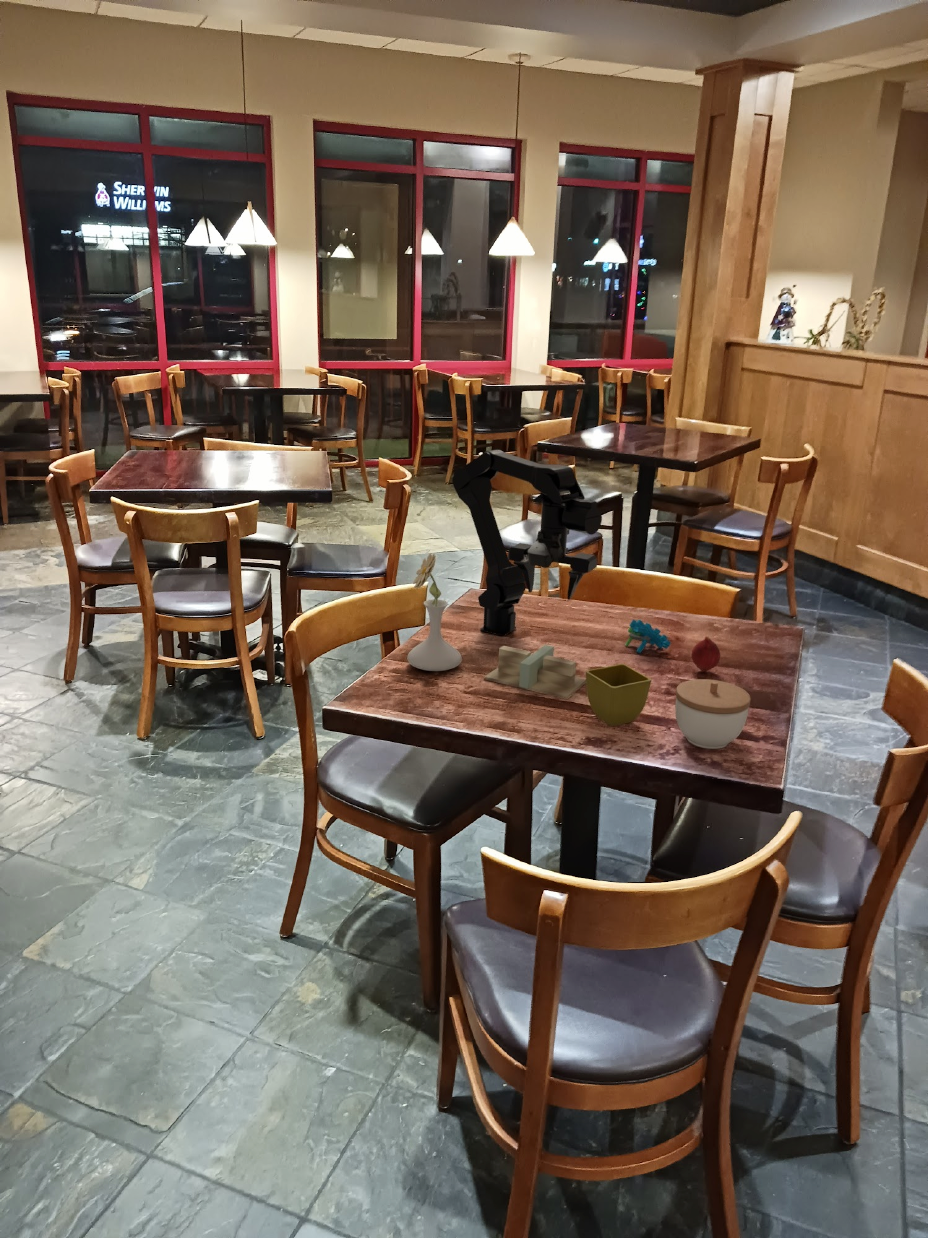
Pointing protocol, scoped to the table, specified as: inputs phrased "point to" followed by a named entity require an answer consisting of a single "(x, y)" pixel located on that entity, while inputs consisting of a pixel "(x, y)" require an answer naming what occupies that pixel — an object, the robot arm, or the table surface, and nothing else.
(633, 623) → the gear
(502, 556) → the robot arm
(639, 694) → the flower pot
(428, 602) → the flower in vase
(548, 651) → the sage board
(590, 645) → the table surface
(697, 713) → the lidded bowl
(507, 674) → the maple jig
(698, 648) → the onion
